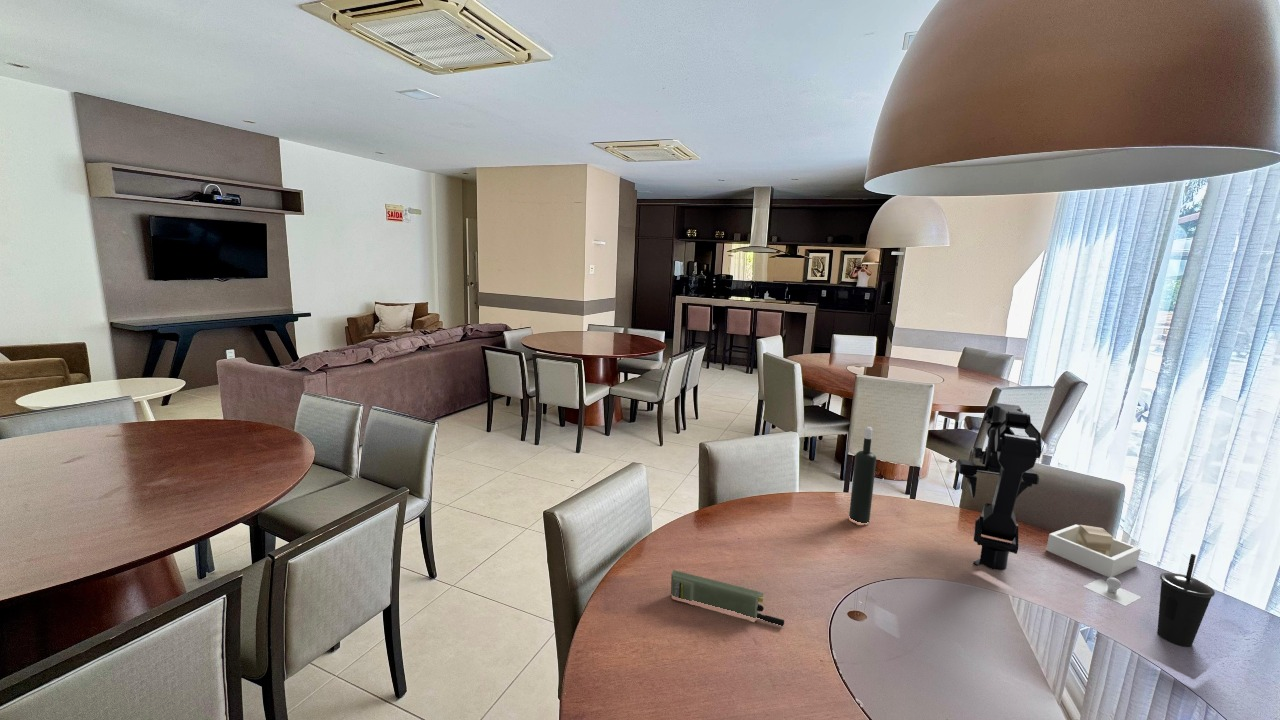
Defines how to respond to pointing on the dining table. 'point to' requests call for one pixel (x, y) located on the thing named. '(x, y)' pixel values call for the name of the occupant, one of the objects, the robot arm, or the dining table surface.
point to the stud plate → (1112, 591)
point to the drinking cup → (1182, 606)
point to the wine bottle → (863, 481)
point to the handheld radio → (719, 595)
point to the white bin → (1093, 553)
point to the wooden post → (1094, 539)
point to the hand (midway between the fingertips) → (991, 499)
